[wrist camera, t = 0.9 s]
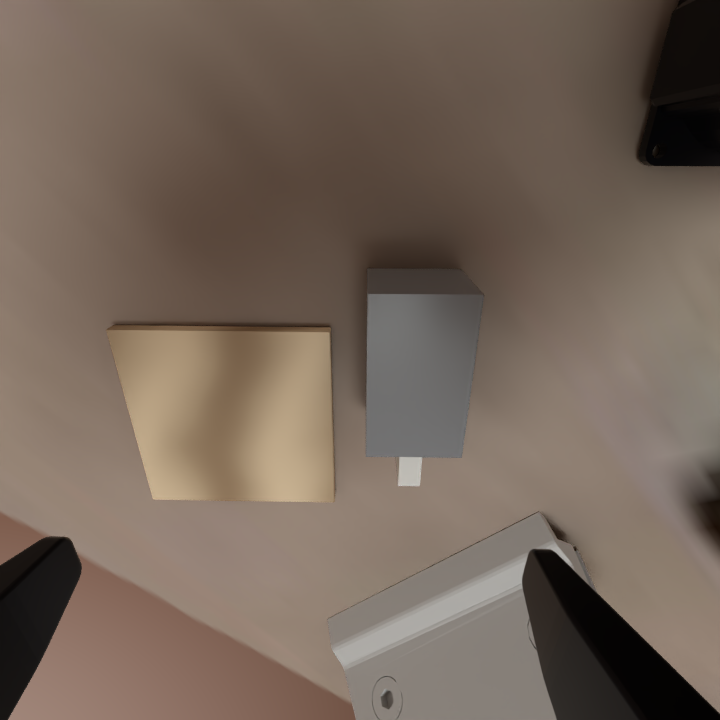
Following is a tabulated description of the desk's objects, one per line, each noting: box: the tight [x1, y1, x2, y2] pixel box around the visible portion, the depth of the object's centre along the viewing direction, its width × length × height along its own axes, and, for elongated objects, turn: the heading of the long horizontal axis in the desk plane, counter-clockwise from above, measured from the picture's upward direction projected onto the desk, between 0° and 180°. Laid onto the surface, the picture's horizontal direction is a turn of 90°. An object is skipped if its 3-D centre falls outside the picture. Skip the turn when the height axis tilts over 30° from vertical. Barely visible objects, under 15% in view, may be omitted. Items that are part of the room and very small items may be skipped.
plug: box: [366, 268, 484, 486], centre depth 18 cm, size 4×9×4 cm
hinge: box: [328, 512, 597, 720], centre depth 23 cm, size 17×5×10 cm, turn 129°
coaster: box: [106, 325, 335, 502], centre depth 21 cm, size 10×10×1 cm
